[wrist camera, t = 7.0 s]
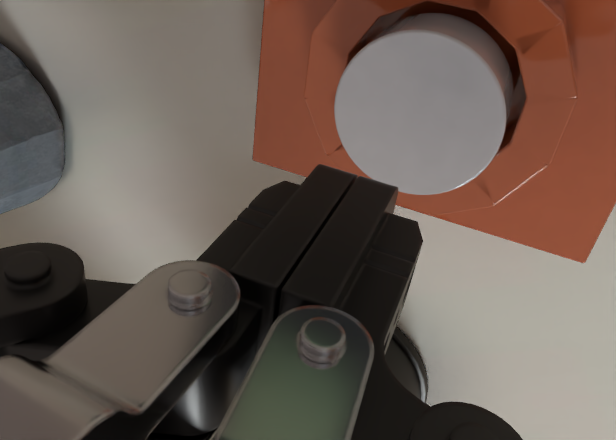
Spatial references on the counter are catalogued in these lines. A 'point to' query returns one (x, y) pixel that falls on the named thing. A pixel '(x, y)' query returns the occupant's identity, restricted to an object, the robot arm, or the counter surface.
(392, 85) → the pale grey round puck
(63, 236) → the counter surface
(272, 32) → the orange button block
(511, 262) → the counter surface
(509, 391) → the counter surface
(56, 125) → the moka pot
